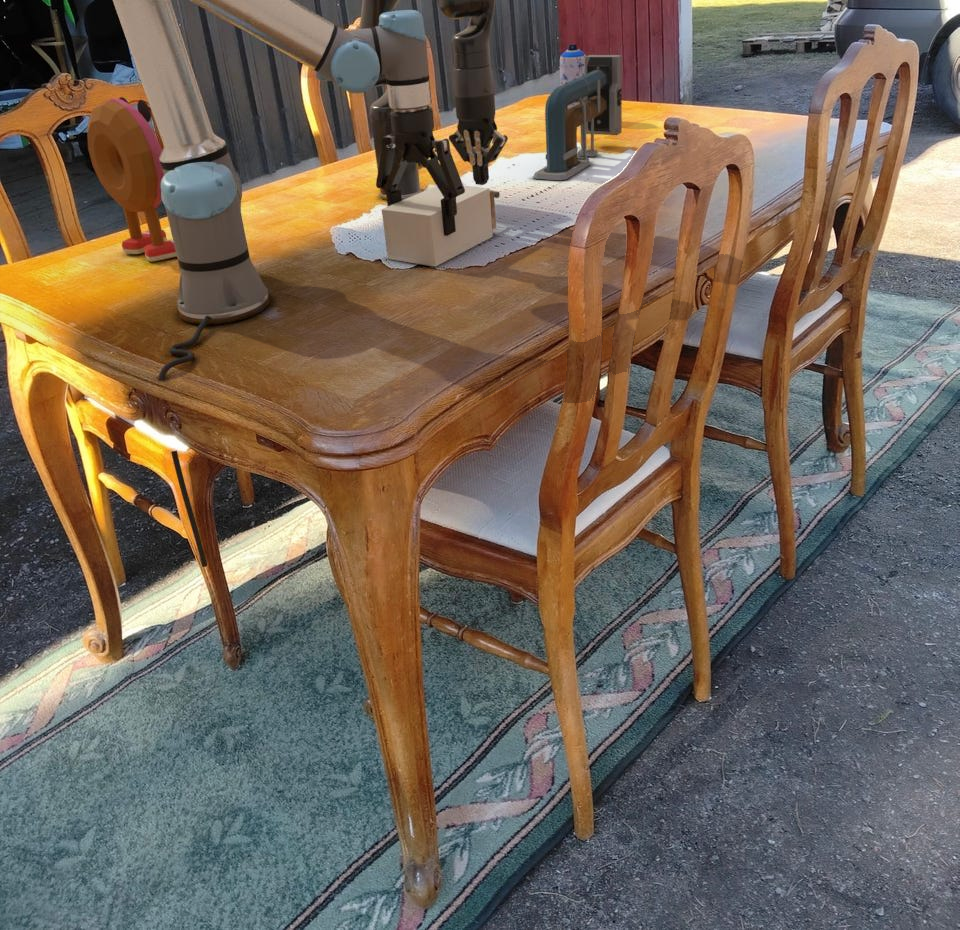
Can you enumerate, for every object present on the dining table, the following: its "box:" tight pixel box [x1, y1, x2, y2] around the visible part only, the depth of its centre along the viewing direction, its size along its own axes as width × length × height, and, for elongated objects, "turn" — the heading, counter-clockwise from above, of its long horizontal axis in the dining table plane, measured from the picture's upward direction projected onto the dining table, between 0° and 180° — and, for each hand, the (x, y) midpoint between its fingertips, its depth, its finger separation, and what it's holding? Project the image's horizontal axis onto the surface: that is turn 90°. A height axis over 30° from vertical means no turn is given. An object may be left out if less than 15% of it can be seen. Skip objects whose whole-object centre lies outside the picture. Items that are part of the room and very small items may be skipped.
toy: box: [86, 96, 177, 263], centre depth 189 cm, size 21×10×30 cm, turn 47°
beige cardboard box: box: [381, 185, 494, 268], centre depth 184 cm, size 19×11×10 cm, turn 145°
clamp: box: [532, 54, 623, 181], centre depth 230 cm, size 35×9×21 cm, turn 151°
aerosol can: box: [559, 43, 587, 109], centre depth 273 cm, size 8×8×20 cm
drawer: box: [490, 189, 501, 230], centre depth 188 cm, size 23×10×7 cm, turn 145°
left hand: (423, 229), depth 181 cm, fingers closed on beige cardboard box, 11 cm apart
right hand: (481, 183), depth 192 cm, fingers closed
